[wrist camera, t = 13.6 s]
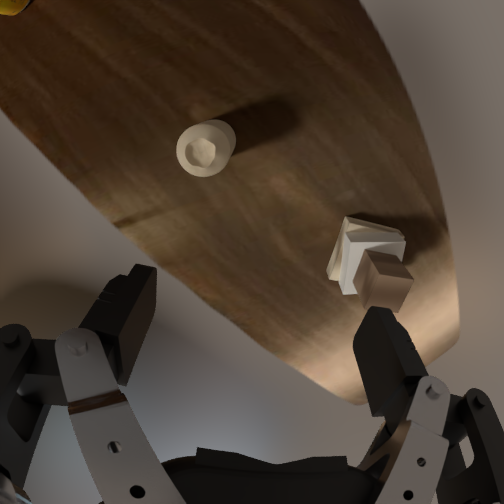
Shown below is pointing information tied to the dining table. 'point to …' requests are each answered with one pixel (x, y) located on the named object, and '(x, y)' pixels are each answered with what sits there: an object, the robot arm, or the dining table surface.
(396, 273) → the walnut block
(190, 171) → the candle
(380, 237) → the slab upper
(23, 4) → the beer can
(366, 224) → the slab lower
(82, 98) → the dining table surface
